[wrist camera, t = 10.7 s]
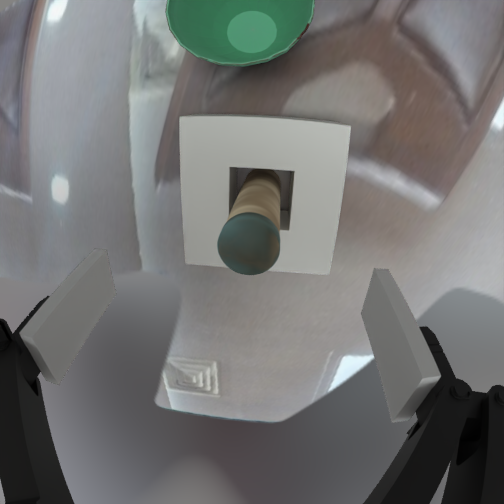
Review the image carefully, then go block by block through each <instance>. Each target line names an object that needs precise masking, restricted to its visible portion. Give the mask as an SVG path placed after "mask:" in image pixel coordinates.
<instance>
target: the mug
mask: <svg viewBox="0 0 504 504" xmlns="http://www.w3.org/2000/svg"><path fill="white" fill-rule="evenodd" d="M314 5H315V0H167V5H166V17H167V21H168V25H169V30H170V31H171V33H172V34H173V35H174V37H175V38H176V40H177V41H178V43H179V44H180V45H181V46H182V47H183V48H185V49H186V50H188V51H189V52H191V53H192V54H193V55H195V56H196V57H198V58H200V59H203V60H206V61H209V62H212V63H215V64H218V65H223V66H242V67H245V66H250V65H254V64H259V63H265V62H268V61H270V60H272V59H274V58H276V57H278V56H280V55H282V54H284V53H286V52H287V51H288V50H289V49H290V48H291V47H292V46H293V45H294V44H295V43H296V42H297V41H298V40H299V39H300V38H301V37H302V35H303V34H304V33H305V32H306V30H307V29H308V27H309V25H310V23H311V21H312V19H313V15H314Z"/></svg>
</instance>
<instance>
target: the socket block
mask: <svg viewBox="0 0 504 504" xmlns="http://www.w3.org/2000/svg"><path fill="white" fill-rule="evenodd" d="M350 131H351V126H349V125H346V124H343V123H340V122H334V121H326V120H317V119H307V118H297V117H284V116H270V115H249V114H193V115H187V116H181V117H180V178H181V203H182V222H183V238H184V252H185V264H193V265H204V266H216V267H227V266H226V265H225V264H224V263H223V261H222V260H221V258H220V256H219V253H218V249H217V241H218V237H219V235H220V232H221V230H222V228H223V226H224V225H225V223H226V221H227V219H228V217H229V214H230V212H231V210H232V208H233V205H234V203H235V201H236V195H237V167H242V168H260V169H275V170H288V171H291V184H290V196H289V207H288V211H281V210H280V254H279V257H278V259H277V261H276V263H275V264H274V265H273V266H272V267H271V268H270V269H269V270H267V271H278V272H292V273H306V274H320V275H329V273H330V268H331V263H332V258H333V252H334V247H335V241H336V235H337V229H338V223H339V217H340V210H341V204H342V197H343V190H344V183H345V175H346V167H347V159H348V150H349V141H350ZM228 268H229V267H228Z"/></svg>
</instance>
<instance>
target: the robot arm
mask: <svg viewBox="0 0 504 504" xmlns="http://www.w3.org/2000/svg"><path fill="white" fill-rule="evenodd" d="M115 296H116V290H115V286H114V282H113V277H112V273H111V268H110V264H109V259H108V254H107V250H103V249H94V250H93V251H92V252H91V253H90V254H89V255H88V256H87V257H86V258H85V259H84V260H83V261H82V262H81V263H80V264H79V265H78V266H77V267H76V268H75V269H74V271H73V272H72V273H71V274H70V275H69V276H68V277H67V278H66V279H65V280H64V281H63V282H62V283H61V285H60V286H59V287H58V288H57V289H56V290H55V291H54V292H53V293H52V295H51V296H47V297H46V298H44V299H43V300H41V301H40V302H39V303H38V304H37V305H36V307H35V308H34V310H32V311H31V312H30V313H29V316H27V317H26V319H24V321H23V322H22V323H21V324H20V325H19V327H18V328H17V329H16V330H15V332H14V333H13V334H12V332H11V330H10V328H9V326H8V324H7V322H6V321H5V320H4V319H0V479H1V484H2V488H3V492H4V496H5V504H74V502H73V499H72V497H71V494H70V492H69V489H68V486H67V484H66V481H65V478H64V475H63V473H62V469H61V466H60V463H59V460H58V457H57V454H56V450H55V447H54V443H53V440H52V437H51V432H50V428H49V424H48V420H47V416H46V411H45V406H44V401H43V396H42V390H41V385H40V381H39V379H38V377H37V376H38V375H39V373H40V372H41V373H42V375H43V376H44V378H45V379H46V381H49V382H51V383H54V384H57V385H60V383H61V381H62V379H63V378H64V376H65V374H66V372H67V371H68V369H69V367H70V366H71V364H72V362H73V361H74V359H75V357H76V355H77V354H78V352H79V351H80V349H81V348H82V346H83V344H84V343H85V341H86V340H87V338H88V336H89V335H90V333H91V332H92V330H93V329H94V327H95V325H96V324H97V322H98V321H99V319H100V318H101V316H102V315H103V313H104V312H105V310H106V309H107V307H108V306H109V304H110V303H111V301H112V300H113V298H114V297H115ZM361 315H362V318H363V321H364V324H365V328H366V331H367V334H368V337H369V340H370V344H371V347H372V350H373V354H374V357H375V361H376V364H377V367H378V371H379V375H380V378H381V382H382V386H383V389H384V393H385V397H386V401H387V404H388V409H389V413H390V417H391V421H392V423H393V422H400V421H407V420H410V418H411V417H412V416H413V415H414V413H415V412H416V415H417V418H418V420H417V422H416V423H415V424H414V425H413V426H412V427H411V429H410V430H409V431H408V432H407V434H408V437H407V438H406V440H405V442H404V444H403V445H402V447H401V449H400V450H399V452H398V454H397V456H396V457H395V459H394V460H393V462H392V463H391V465H390V467H389V468H388V469H387V471H386V472H385V474H384V475H383V477H382V479H381V480H380V481H379V483H378V484H377V486H376V487H375V488H374V490H373V491H372V493H371V494H370V495H369V497H368V498H367V499H366V501H365V502H364V503H363V504H429V503H430V501H431V500H432V498H433V496H434V494H435V492H436V490H437V488H438V486H439V484H440V482H441V480H442V478H443V476H444V474H445V472H446V470H447V467H448V465H449V463H450V467H449V472H448V477H447V482H446V486H445V490H444V495H443V498H442V503H441V504H504V387H503V386H501V385H495V386H492V387H491V389H490V390H489V391H488V392H487V393H482V392H475V391H472V389H471V388H470V386H469V385H468V384H467V383H466V382H464V381H463V380H460V379H456V377H455V375H454V373H453V371H452V368H451V366H450V364H449V362H448V360H447V358H446V356H445V354H444V353H443V349H442V347H441V346H440V345H439V344H440V343H439V341H438V340H437V338H436V336H435V334H434V333H433V332H432V331H431V330H430V329H429V328H428V327H419V326H418V324H417V322H416V320H415V318H414V316H413V314H412V312H411V310H410V308H409V306H408V304H407V302H406V300H405V299H404V297H403V295H402V293H401V291H400V289H399V287H398V286H397V284H396V282H395V280H394V278H393V276H392V275H391V273H390V271H389V269H378V268H374V270H373V274H372V278H371V281H370V285H369V288H368V292H367V295H366V299H365V302H364V305H363V309H362V312H361ZM450 461H451V462H450Z"/></svg>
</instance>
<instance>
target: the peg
mask: <svg viewBox="0 0 504 504" xmlns="http://www.w3.org/2000/svg"><path fill="white" fill-rule="evenodd" d="M280 190H281V183H280V179H279V177H278V175H277V174H276V173H275V172H274V171H273V170H271V169H260V168H256V169H254V170H252V171H251V172H250V173H249V174H248V175H247V177H246V179H245V181H244V183H243V186H242V188H241V190H240V192H239V194H238V197H237V199H236V201H235V203H234V205H233V208H232V210H231V212H230V214H229V217H228V219H227V221H226V223H225V225H224V226H223V228H222V230H221V232H220V235H219V237H218V241H217V249H218V253H219V256H220V258H221V260H222V261H223V263H224V264H225V265H226V266H227V267H229V268H230V269H231V270H233V271H235V272H237V273H240V274H245V275H256V274H260V273H263V272H265V271H267V270H269V269H270V268H271V267H272V266H273V265H274V264H275V263H276V261H277V259H278V257H279V254H280Z"/></svg>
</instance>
